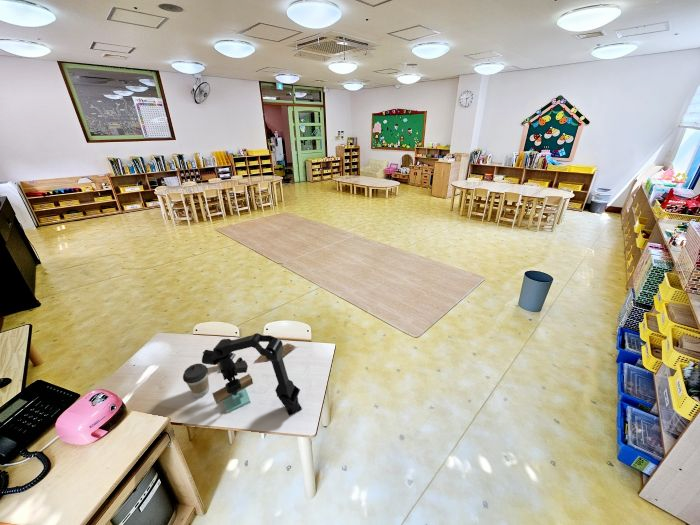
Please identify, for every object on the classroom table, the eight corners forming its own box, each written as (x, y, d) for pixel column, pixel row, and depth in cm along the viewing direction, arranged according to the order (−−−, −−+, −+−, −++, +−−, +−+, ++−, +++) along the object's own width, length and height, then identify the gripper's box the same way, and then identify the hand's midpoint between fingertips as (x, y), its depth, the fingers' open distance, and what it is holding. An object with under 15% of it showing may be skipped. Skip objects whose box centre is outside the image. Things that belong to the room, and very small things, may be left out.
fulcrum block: (250, 402, 145) (248, 393, 143) (227, 413, 140) (224, 404, 138) (244, 387, 154) (242, 378, 151) (222, 396, 149) (220, 388, 146)
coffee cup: (198, 381, 158) (191, 360, 151) (218, 384, 156) (211, 362, 150) (184, 399, 148) (176, 378, 141) (205, 402, 146) (197, 380, 139)
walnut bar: (253, 383, 148) (251, 377, 147) (216, 404, 138) (214, 398, 136) (250, 379, 151) (248, 373, 149) (214, 399, 140) (212, 393, 139)
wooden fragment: (293, 342, 185) (293, 340, 184) (299, 353, 176) (298, 351, 175) (251, 355, 175) (251, 354, 174) (255, 368, 166) (254, 367, 165)
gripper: (249, 369, 133) (255, 394, 140) (239, 346, 148) (245, 369, 154) (223, 380, 128) (231, 405, 135) (216, 355, 142) (222, 378, 149)
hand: (233, 388), depth 144 cm, fingers open, 9 cm apart
